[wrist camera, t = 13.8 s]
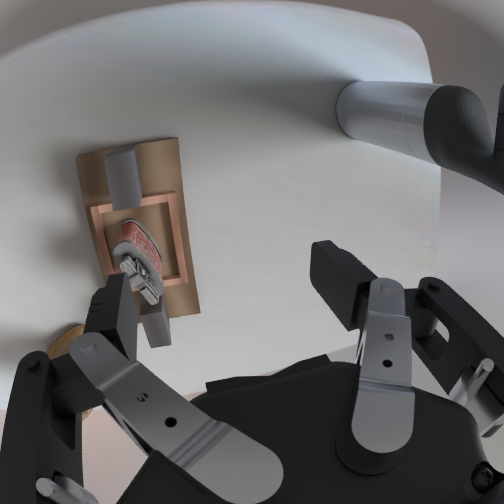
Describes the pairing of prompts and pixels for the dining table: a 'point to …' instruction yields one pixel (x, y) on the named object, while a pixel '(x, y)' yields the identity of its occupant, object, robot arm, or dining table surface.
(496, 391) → the robot arm
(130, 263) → the lighter
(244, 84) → the dining table surface
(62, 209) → the dining table surface
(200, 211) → the dining table surface
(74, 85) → the dining table surface
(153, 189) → the rail
